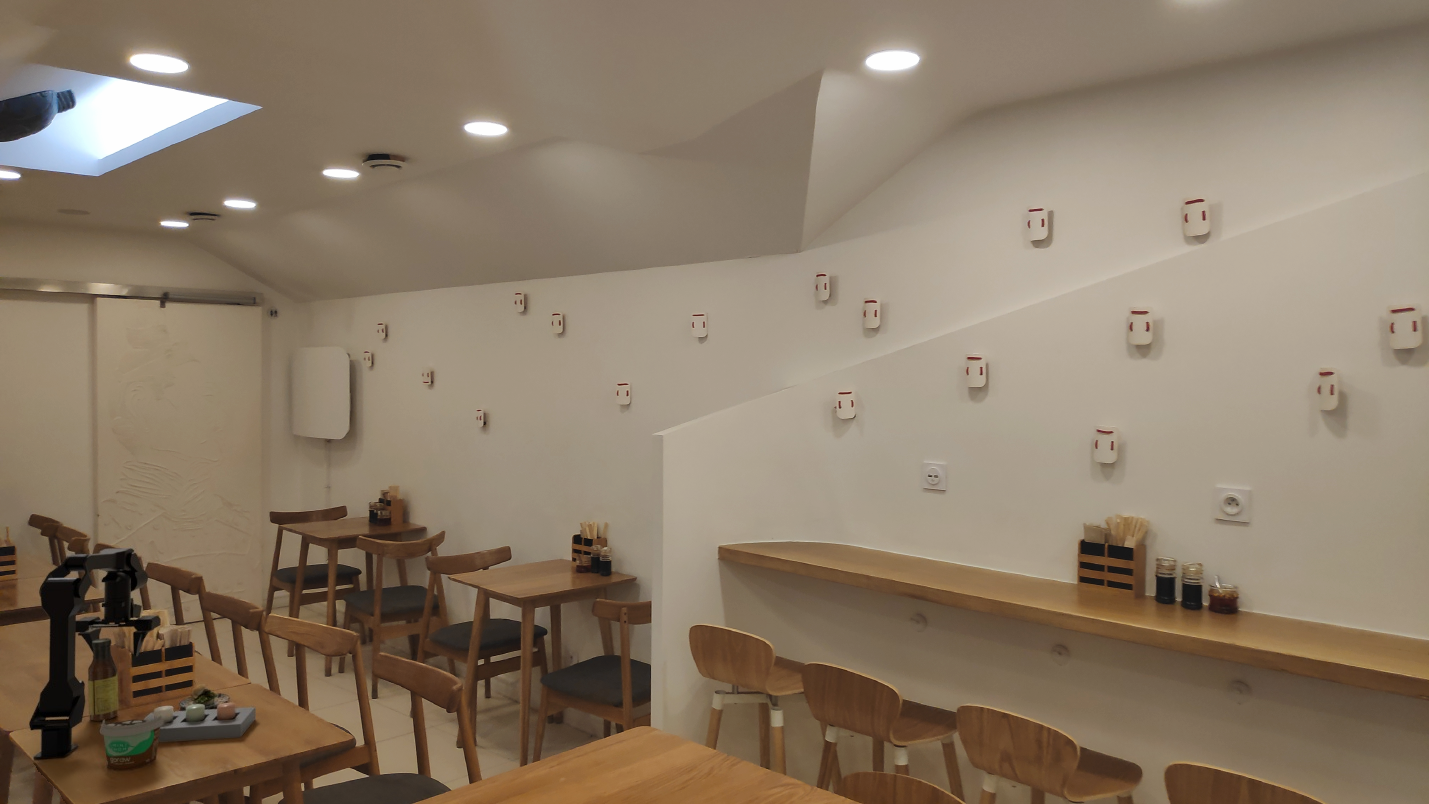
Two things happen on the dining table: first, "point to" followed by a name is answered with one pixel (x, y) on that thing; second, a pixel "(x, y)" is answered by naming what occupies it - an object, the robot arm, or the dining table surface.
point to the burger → (203, 698)
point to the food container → (131, 743)
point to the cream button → (164, 713)
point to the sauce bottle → (102, 682)
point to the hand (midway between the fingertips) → (116, 656)
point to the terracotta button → (226, 711)
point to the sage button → (195, 712)
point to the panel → (205, 726)
